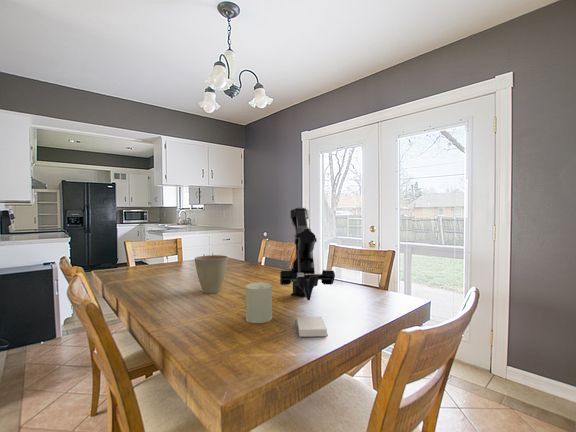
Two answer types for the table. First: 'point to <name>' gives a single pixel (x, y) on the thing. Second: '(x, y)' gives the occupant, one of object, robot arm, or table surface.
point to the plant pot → (211, 272)
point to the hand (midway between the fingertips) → (308, 299)
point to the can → (258, 302)
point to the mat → (298, 332)
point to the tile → (311, 326)
